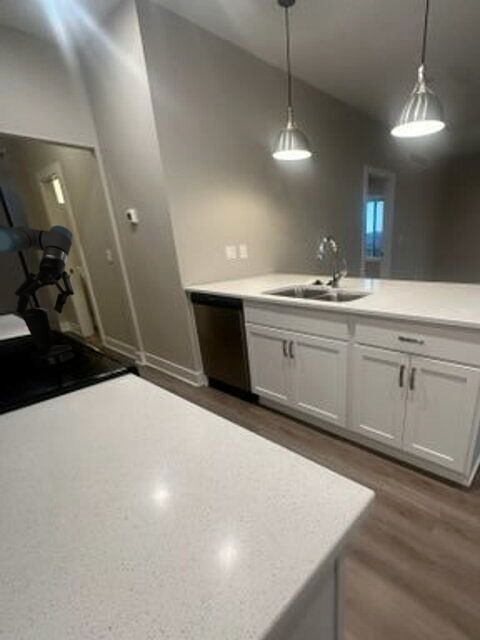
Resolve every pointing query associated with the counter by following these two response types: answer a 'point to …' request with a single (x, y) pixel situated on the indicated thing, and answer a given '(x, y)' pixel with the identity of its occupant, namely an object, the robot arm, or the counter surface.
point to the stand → (52, 356)
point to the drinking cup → (38, 325)
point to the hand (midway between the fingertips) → (38, 312)
